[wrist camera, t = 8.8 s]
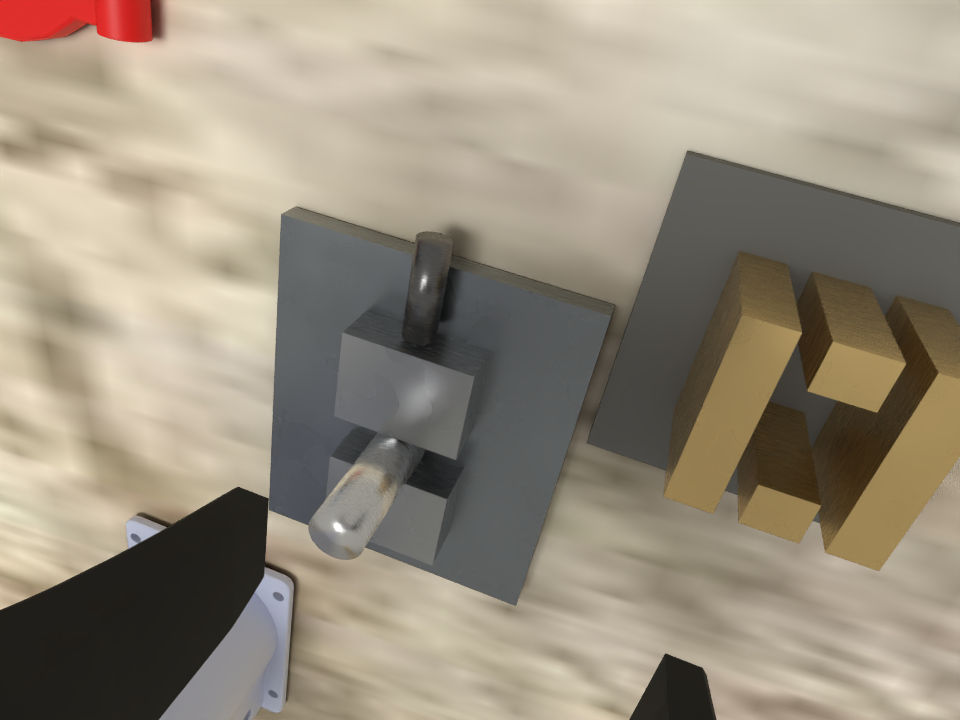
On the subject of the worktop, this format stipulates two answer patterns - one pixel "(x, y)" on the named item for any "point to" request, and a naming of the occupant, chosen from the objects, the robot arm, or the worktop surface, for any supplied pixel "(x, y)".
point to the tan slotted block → (850, 426)
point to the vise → (422, 399)
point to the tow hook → (75, 19)
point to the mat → (773, 235)
